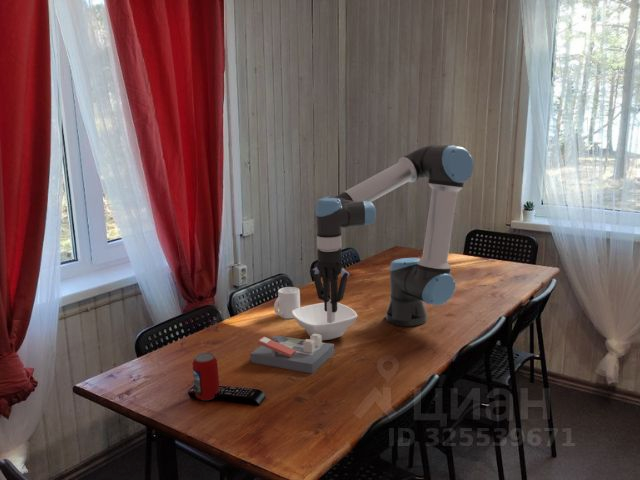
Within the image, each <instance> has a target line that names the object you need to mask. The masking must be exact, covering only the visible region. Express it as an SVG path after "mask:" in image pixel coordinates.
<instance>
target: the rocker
mask: <svg viewBox="0 0 640 480" xmlns="http://www.w3.org/2000/svg"><path fill="white" fill-rule="evenodd" d="M256 343H257V345H260V346H261V345H262V346H265V347H267V348H269V349H272V350H274V351H276V352H279V353H281V354H283V355H286V356H288V357H291V356H292V355H294V354H295V352H296V350H294V349H292V348H289V347H287V346H285V345H282V344H280V343H278V342H275V341H273V340H271V339H270V338H268V337H266V336H262V337H261V338H259V339H258V340H257V342H256Z"/></svg>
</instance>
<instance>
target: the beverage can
mask: <svg viewBox="0 0 640 480" xmlns="http://www.w3.org/2000/svg"><path fill="white" fill-rule="evenodd" d="M218 368H219V366H218V359H217V358H216V357H215V354H214V353H212V352H201V353H198V354H196V355H195V356H194V359H193V361H192V373H193V383H194V384H193V385H194V393H195V397H196V398H197V399H199V400H201V401H210V400H213V399H215V398H216V397H215V394H217V393H218V392H219V390H220V380H219V379H220V377H219V369H218ZM214 397H215V398H214Z"/></svg>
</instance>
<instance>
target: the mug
mask: <svg viewBox="0 0 640 480" xmlns="http://www.w3.org/2000/svg"><path fill="white" fill-rule="evenodd" d="M300 292H301V291H300V288H298V287H295V286H285V287H282V288H279V289H278V290H277V296H278V297H277V298H276V299H275V301H274V304H273V309H274V312H275V314H276V315H277V316H279V317H281V319H285V320H287V319H288V320H291V319H292V318H293V319H295V318H294V317H293V315H292V310H295V309H297V308H300V307H301V293H300ZM293 319H292V320H293Z"/></svg>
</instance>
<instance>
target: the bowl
mask: <svg viewBox="0 0 640 480" xmlns="http://www.w3.org/2000/svg"><path fill="white" fill-rule="evenodd" d="M292 315H293V317H294V318H293V319H294V320H295V321H296V323H297V324H298V326H300V327H301V328H302V329H304V330H305V333H307V334H308V336H309V337H310V336H311V335H312V334H314V333H315V334H320V335H322V342H323V341H328V340H329V341H330V340H333V339H334V340H335V339H337V338H339V337H341V336H343V335H344V334H345V332H346V331H347V330H348V327H351V326H352V325H354V323H355V321H356V320H357V319H358V313H357V312H356V311H355V310H354V309H352V308H351V307H350V306H347V305H345V304H342V303H340V302H337V311H336V312H335V321H334V322H332V323H328V322H327V311H325V310H324V302H320V303H314V304H309V305H304V306H302V307H301V306H300V308H297V309H295V310H292Z"/></svg>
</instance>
